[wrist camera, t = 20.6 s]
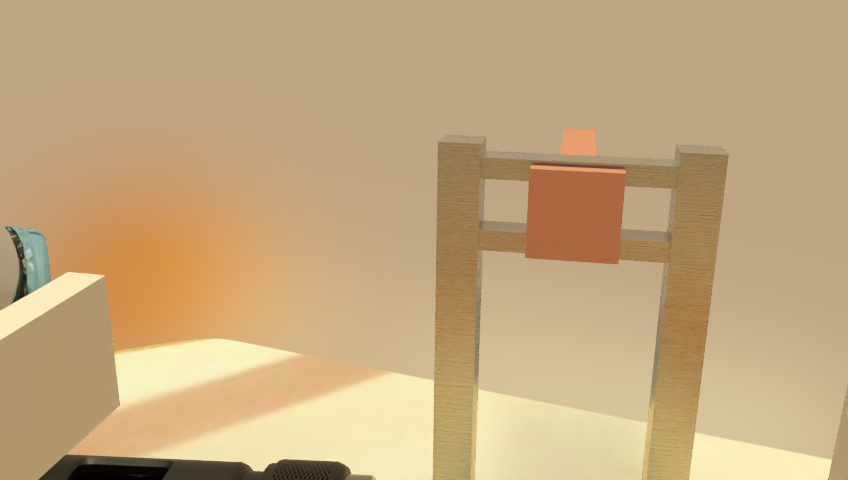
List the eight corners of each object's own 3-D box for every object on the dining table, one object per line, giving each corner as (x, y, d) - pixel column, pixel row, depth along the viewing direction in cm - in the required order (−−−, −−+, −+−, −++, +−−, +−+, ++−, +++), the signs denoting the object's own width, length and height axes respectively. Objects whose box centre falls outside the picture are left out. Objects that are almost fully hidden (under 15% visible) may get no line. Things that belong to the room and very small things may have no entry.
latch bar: (618, 264, 43) (625, 173, 42) (525, 257, 44) (529, 168, 43) (608, 176, 65) (613, 113, 63) (545, 173, 66) (549, 111, 64)
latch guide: (672, 611, 50) (728, 154, 42) (431, 576, 53) (438, 141, 45) (669, 584, 53) (721, 146, 44) (437, 552, 56) (445, 134, 47)
